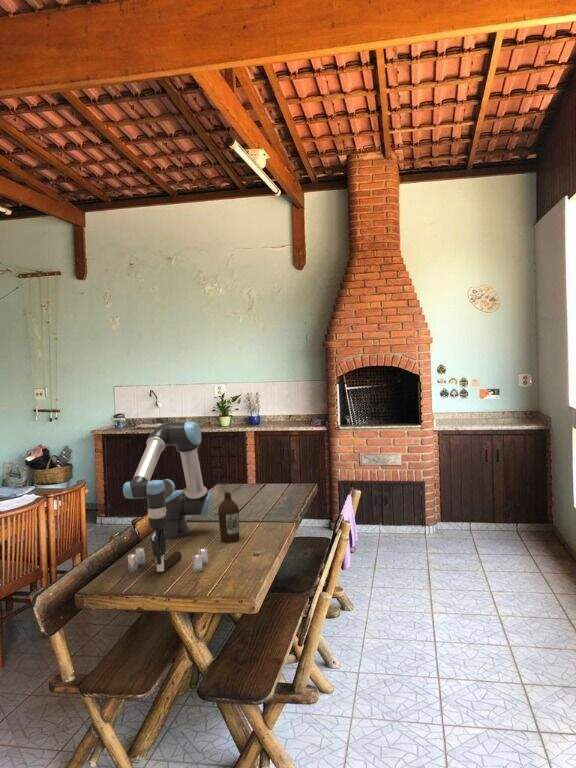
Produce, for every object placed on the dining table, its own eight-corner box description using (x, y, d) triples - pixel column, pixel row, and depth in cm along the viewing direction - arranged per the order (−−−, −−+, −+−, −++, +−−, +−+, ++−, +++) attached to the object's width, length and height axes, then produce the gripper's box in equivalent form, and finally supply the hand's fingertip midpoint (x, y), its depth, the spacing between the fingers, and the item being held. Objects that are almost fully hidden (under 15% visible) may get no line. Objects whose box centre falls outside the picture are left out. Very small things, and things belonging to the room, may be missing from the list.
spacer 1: (131, 568, 258) (130, 553, 257) (139, 568, 257) (138, 553, 257) (127, 572, 254) (126, 556, 253) (135, 572, 253) (134, 556, 253)
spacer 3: (195, 569, 253) (194, 553, 252) (203, 569, 252) (202, 553, 252) (192, 572, 249) (191, 556, 249) (201, 572, 248) (200, 556, 248)
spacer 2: (138, 562, 265) (137, 547, 265) (146, 562, 265) (145, 547, 265) (134, 565, 262) (133, 550, 261) (143, 565, 261) (142, 550, 261)
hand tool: (174, 559, 268) (173, 549, 267) (182, 559, 266) (181, 549, 266) (153, 574, 250) (152, 563, 249) (161, 574, 248) (161, 564, 248)
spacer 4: (200, 562, 261) (199, 547, 260) (209, 562, 260) (208, 547, 260) (197, 566, 257) (197, 550, 256) (206, 566, 256) (205, 550, 256)
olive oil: (216, 540, 294) (213, 491, 293) (234, 535, 300) (231, 488, 299) (225, 544, 285) (222, 495, 284) (244, 540, 291) (241, 491, 290)
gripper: (159, 520, 240) (163, 576, 241) (171, 512, 253) (174, 565, 254) (143, 520, 241) (146, 576, 242) (155, 512, 254) (158, 565, 255)
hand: (160, 570), depth 248 cm, fingers closed
